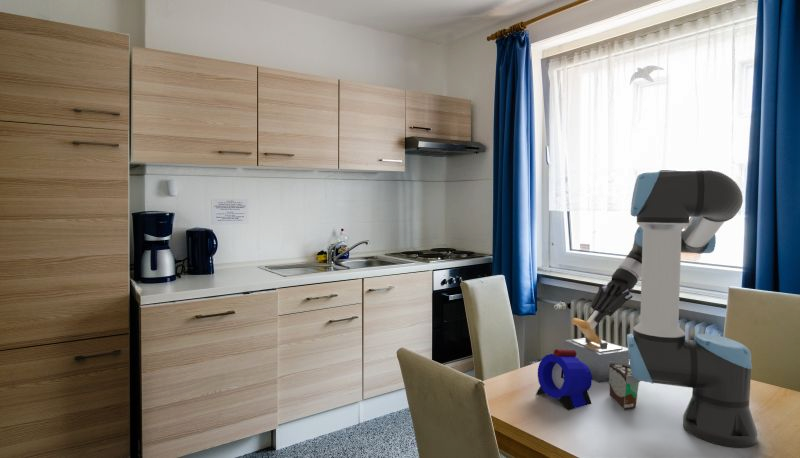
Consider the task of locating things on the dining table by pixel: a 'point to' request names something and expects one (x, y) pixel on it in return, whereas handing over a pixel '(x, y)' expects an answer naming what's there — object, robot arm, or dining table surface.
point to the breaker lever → (586, 330)
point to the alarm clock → (565, 378)
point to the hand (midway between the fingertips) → (587, 328)
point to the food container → (622, 385)
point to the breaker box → (597, 356)
